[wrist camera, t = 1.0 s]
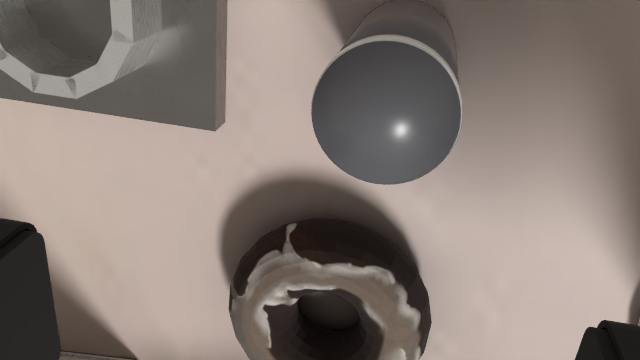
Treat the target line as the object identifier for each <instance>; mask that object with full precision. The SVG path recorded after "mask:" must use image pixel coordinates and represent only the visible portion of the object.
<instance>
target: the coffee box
mask: <svg viewBox="0 0 640 360" xmlns="http://www.w3.org/2000/svg"><path fill="white" fill-rule="evenodd" d="M59 360H133V359H124V358H114V357H106V356H97V355H89V354H80V353H71V352H63V351H61V353H60V358H59Z"/></svg>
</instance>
